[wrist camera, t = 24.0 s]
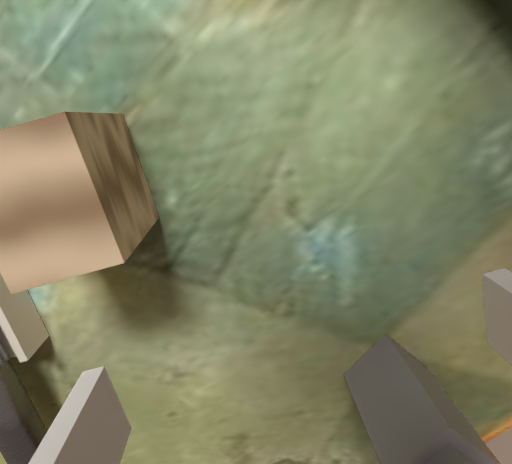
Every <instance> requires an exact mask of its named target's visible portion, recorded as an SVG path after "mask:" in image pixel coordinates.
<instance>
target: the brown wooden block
mask: <svg viewBox="0 0 512 464" xmlns="http://www.w3.org/2000/svg"><path fill="white" fill-rule="evenodd" d="M158 219H159V215H158V212H157V209H156V206H155V203H154V201H153V198H152V195H151V192H150V189H149V186H148V184H147V181H146V178H145V175H144V172H143V170H142V167H141V164H140V161H139V158H138V155H137V153H136V150H135V147H134V144H133V141H132V139H131V136H130V133H129V130H128V127H127V124H126V122H125V119H124V116H123V114H112V113H84V112H62V113H59V114H55V115H52V116H48V117H45V118H41V119H38V120H34V121H31V122H27V123H24V124H20V125H17V126H13V127H10V128H6V129H3V130H0V273H1V275H2V277H3V279H4V281H5V283H6V285H7V287H8V289H9V291H10V293H11V294H13V293H17V292H21V291H24V290H28V289H32V288H35V287H39V286H42V285H46V284H50V283H53V282H57V281H61V280H64V279H68V278H72V277H75V276H79V275H83V274H86V273H90V272H93V271H97V270H101V269H104V268H108V267H112V266H115V265H119V264H123V263H125V262H126V260H127V259H128V258H129V256H130V255H131V254H132V252H133V251H134V250H135V249H136V247H137V246H138V245H139V243H140V242H141V241H142V239H143V238H144V237H145V235H146V234H147V233H148V232H149V230H150V229H151V228H152V226H153V225H154V224H155V222H156V221H157V220H158Z"/></svg>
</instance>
